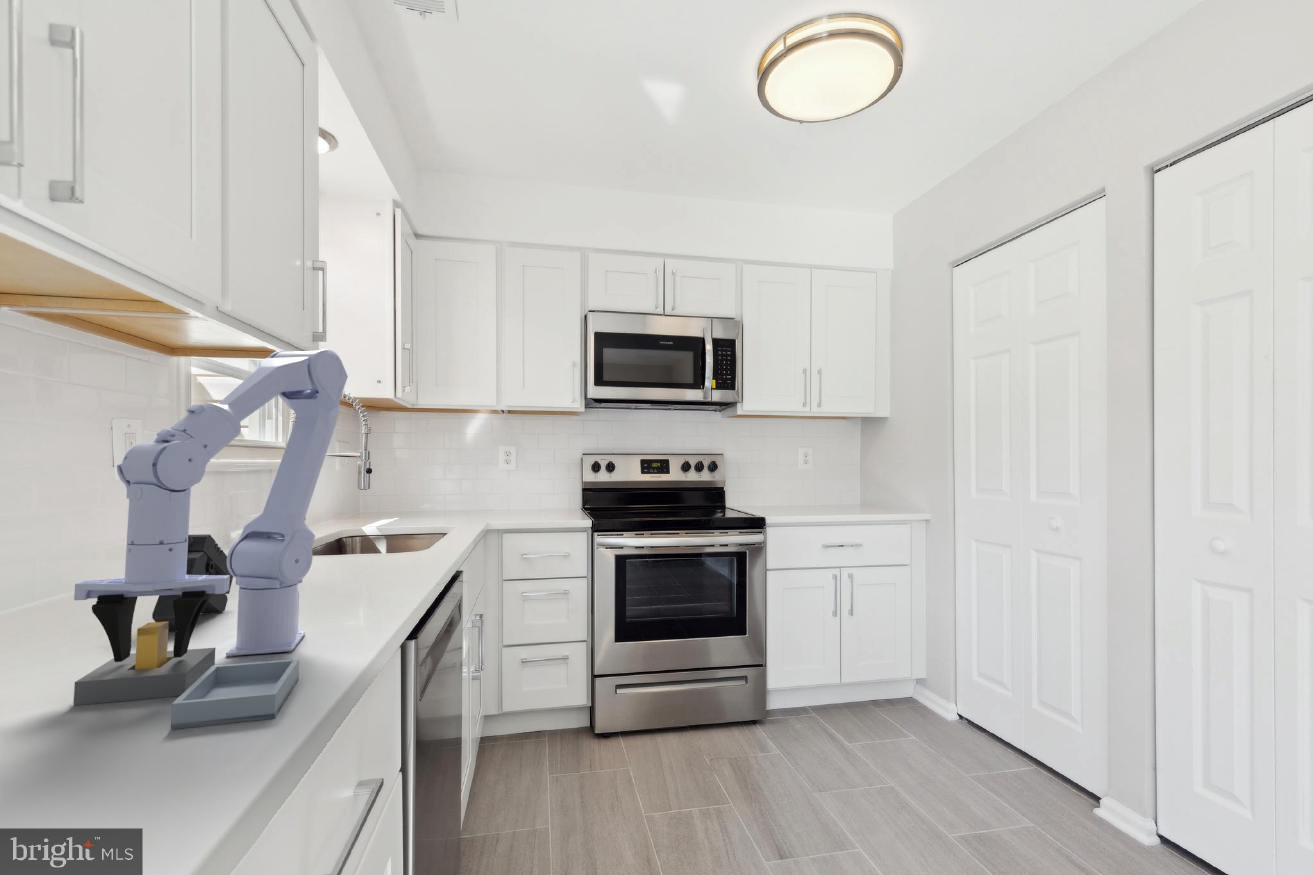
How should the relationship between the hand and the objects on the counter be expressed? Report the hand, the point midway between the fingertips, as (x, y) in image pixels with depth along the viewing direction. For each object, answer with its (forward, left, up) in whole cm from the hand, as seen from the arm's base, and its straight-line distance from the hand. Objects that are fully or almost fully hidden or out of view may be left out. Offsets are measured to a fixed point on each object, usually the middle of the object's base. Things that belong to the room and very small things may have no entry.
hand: (151, 657), depth 72 cm
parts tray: (+9, +12, -3) cm, 15 cm away
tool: (-33, -6, -3) cm, 34 cm away
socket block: (0, 0, -3) cm, 3 cm away
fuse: (0, 0, -3) cm, 3 cm away
